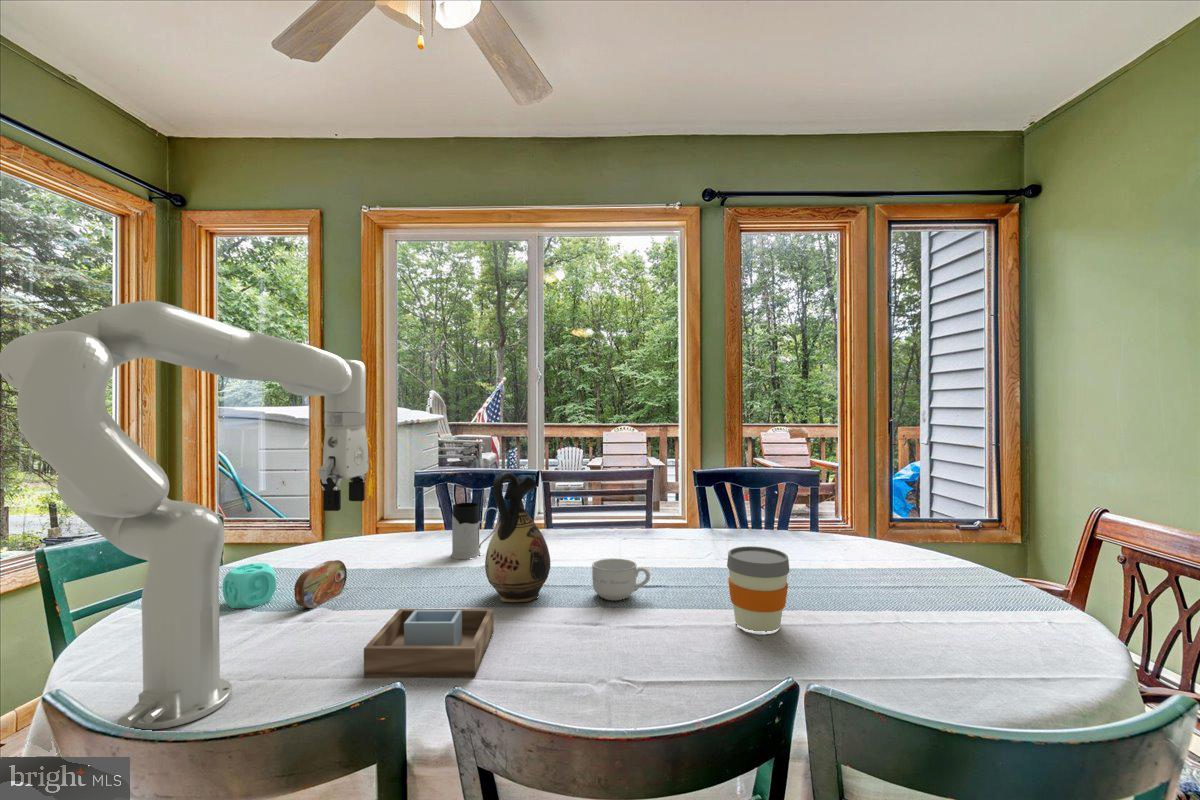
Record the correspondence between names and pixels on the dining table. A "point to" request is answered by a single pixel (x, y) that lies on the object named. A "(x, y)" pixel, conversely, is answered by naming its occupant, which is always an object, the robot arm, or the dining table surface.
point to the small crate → (433, 628)
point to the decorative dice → (249, 585)
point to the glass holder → (467, 530)
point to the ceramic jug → (516, 545)
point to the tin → (320, 584)
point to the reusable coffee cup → (758, 586)
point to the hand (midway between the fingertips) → (344, 505)
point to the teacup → (616, 578)
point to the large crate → (429, 649)
